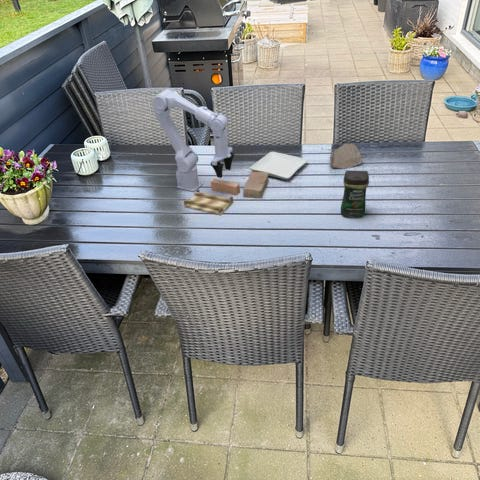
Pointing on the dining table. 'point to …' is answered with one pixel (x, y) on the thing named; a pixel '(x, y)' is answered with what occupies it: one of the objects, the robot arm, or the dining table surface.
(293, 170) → the salad plate
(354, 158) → the pumice stone
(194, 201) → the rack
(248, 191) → the brick
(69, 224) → the dining table surface
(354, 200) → the coffee jar
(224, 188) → the clay strip
